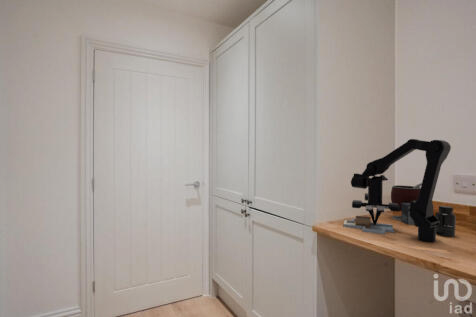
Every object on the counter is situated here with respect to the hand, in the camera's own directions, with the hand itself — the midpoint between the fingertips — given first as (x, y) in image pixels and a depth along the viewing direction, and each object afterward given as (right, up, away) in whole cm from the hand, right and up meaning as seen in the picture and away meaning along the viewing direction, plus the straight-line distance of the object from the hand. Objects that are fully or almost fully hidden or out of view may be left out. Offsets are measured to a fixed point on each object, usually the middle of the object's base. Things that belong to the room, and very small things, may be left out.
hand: (374, 224), depth 121 cm
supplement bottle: (+27, -3, -6) cm, 27 cm away
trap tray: (-2, -2, +1) cm, 3 cm away
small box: (+24, -3, +8) cm, 25 cm away
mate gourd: (+27, -2, +20) cm, 34 cm away
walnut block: (-4, -1, +2) cm, 5 cm away
